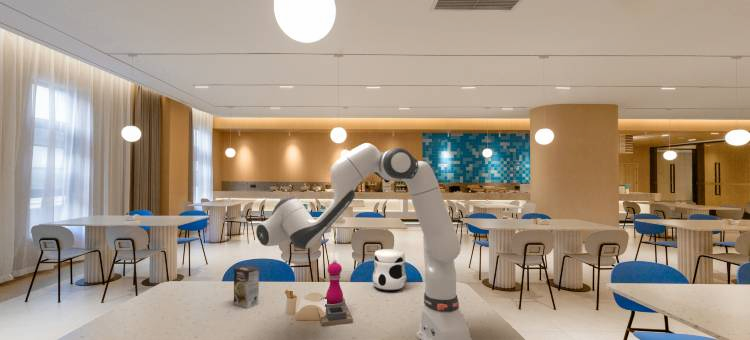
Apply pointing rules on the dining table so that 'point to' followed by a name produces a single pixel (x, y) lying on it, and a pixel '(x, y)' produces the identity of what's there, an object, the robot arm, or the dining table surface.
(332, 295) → the pepper mill
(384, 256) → the milk container
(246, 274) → the coffee box
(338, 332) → the dining table surface
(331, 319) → the caddy board
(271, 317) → the dining table surface
